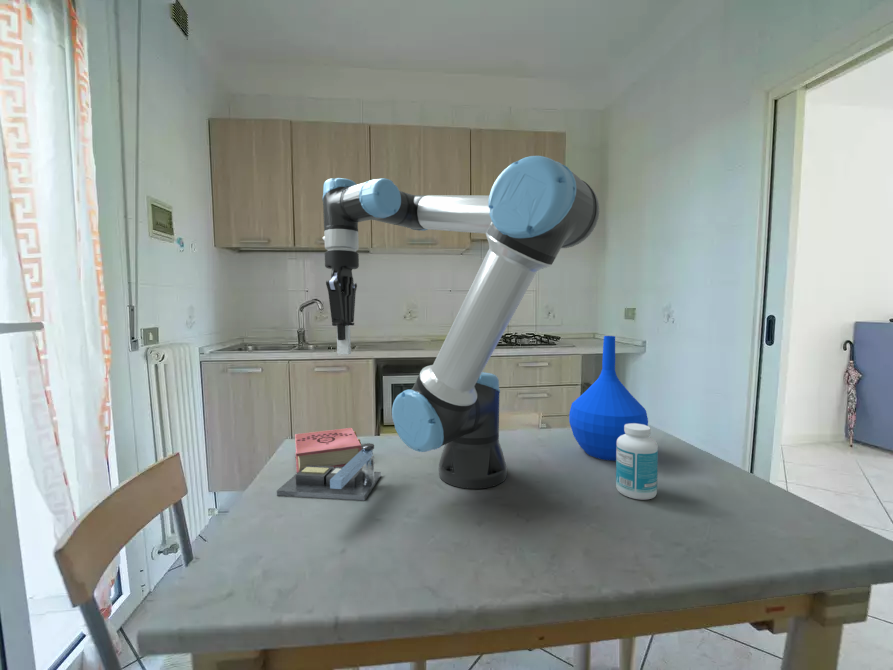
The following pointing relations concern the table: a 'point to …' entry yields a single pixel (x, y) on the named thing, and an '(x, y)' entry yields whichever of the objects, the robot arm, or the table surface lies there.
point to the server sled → (318, 483)
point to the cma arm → (352, 467)
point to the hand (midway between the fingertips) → (344, 353)
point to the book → (326, 448)
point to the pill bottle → (636, 462)
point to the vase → (604, 410)
